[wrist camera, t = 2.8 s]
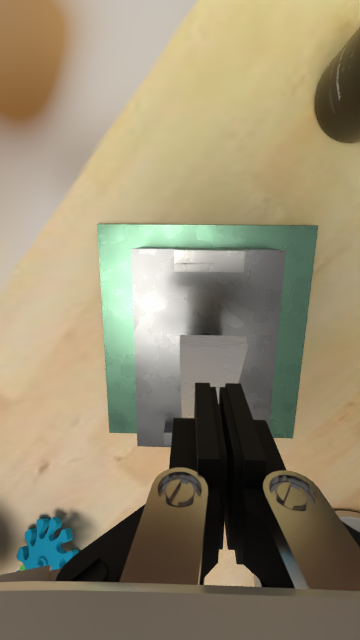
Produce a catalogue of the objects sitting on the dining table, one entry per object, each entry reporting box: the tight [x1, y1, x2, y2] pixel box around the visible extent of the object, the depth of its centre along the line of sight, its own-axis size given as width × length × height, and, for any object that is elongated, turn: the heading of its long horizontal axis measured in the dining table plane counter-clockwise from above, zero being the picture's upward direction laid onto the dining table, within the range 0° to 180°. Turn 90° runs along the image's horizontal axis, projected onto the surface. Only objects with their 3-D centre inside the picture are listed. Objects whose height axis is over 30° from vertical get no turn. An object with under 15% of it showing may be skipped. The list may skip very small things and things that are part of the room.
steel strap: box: [180, 335, 248, 418], centre depth 22 cm, size 4×14×1 cm
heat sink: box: [97, 224, 318, 447], centre depth 28 cm, size 20×22×8 cm
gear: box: [16, 516, 80, 572], centre depth 37 cm, size 11×6×10 cm
